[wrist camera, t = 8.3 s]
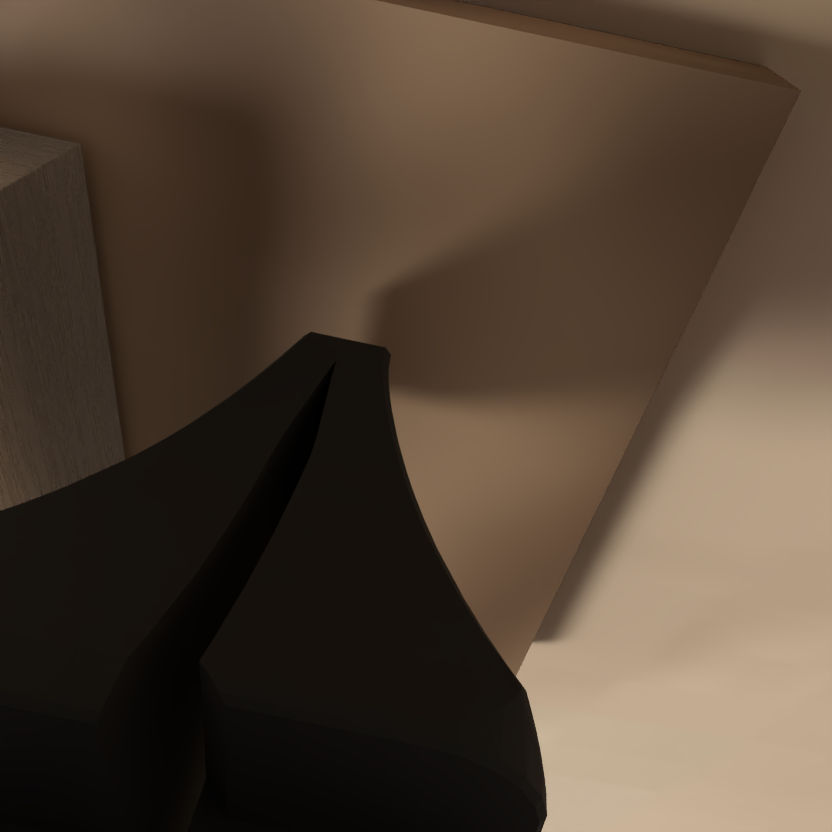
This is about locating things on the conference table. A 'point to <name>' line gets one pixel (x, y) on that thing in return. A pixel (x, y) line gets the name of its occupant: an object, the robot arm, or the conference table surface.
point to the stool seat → (404, 231)
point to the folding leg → (50, 324)
